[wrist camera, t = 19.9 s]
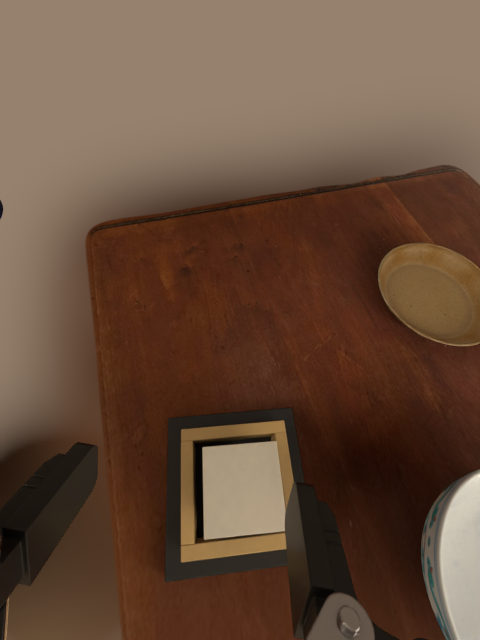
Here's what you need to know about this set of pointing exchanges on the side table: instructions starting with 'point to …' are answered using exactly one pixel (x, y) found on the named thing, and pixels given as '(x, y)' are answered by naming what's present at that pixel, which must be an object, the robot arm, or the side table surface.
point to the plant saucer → (433, 292)
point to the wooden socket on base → (187, 492)
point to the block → (242, 490)
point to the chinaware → (454, 558)
